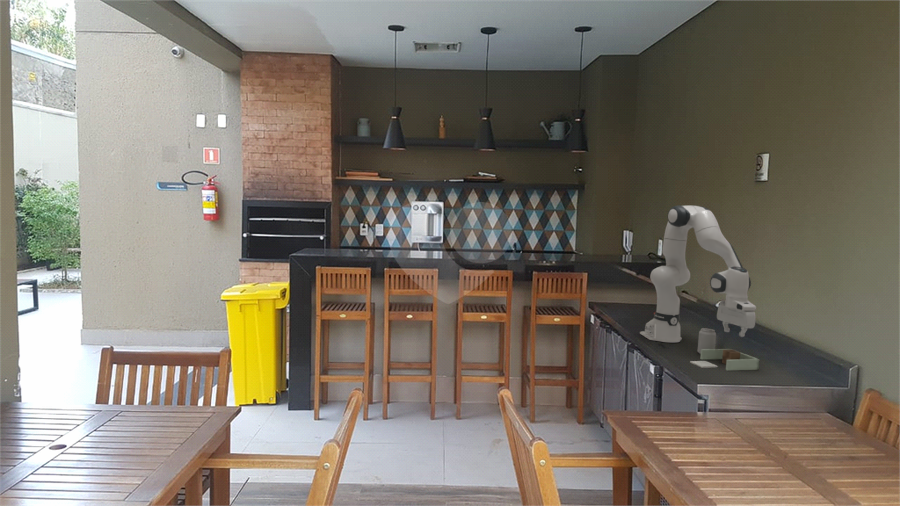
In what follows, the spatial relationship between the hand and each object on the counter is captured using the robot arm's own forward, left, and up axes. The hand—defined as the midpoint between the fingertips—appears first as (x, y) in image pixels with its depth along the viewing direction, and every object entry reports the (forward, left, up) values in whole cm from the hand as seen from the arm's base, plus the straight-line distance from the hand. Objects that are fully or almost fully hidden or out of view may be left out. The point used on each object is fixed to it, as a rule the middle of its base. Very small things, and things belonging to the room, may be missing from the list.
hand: (734, 334), depth 262 cm
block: (0, 0, -14) cm, 14 cm away
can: (-17, 0, -14) cm, 22 cm away
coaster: (0, -14, -14) cm, 20 cm away
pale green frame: (0, -1, -14) cm, 14 cm away
